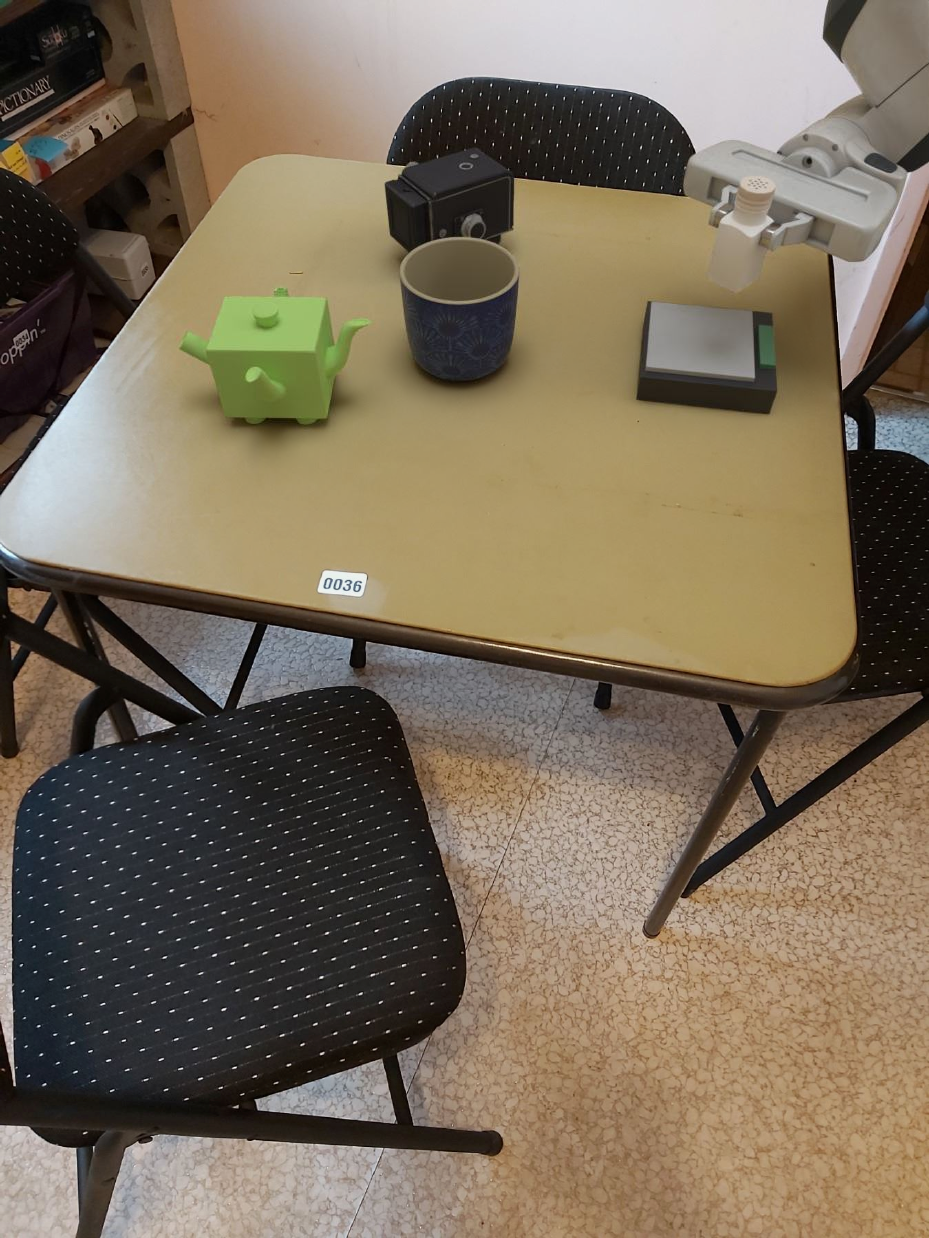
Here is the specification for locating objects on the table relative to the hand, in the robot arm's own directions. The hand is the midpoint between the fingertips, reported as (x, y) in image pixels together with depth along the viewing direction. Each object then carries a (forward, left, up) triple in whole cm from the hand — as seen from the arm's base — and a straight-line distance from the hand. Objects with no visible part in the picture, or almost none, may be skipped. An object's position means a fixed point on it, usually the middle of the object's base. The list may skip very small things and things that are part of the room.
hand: (741, 230), depth 78 cm
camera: (+32, -20, -17) cm, 42 cm away
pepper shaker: (0, -1, -6) cm, 6 cm away
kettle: (+44, +12, -17) cm, 49 cm away
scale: (0, -2, -17) cm, 17 cm away
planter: (+27, +1, -17) cm, 32 cm away
